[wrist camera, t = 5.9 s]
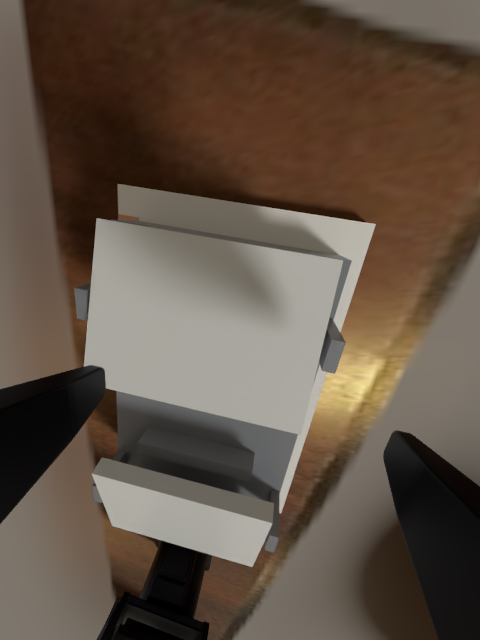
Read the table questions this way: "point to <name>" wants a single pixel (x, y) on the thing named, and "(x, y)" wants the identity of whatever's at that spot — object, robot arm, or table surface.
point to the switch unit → (209, 429)
